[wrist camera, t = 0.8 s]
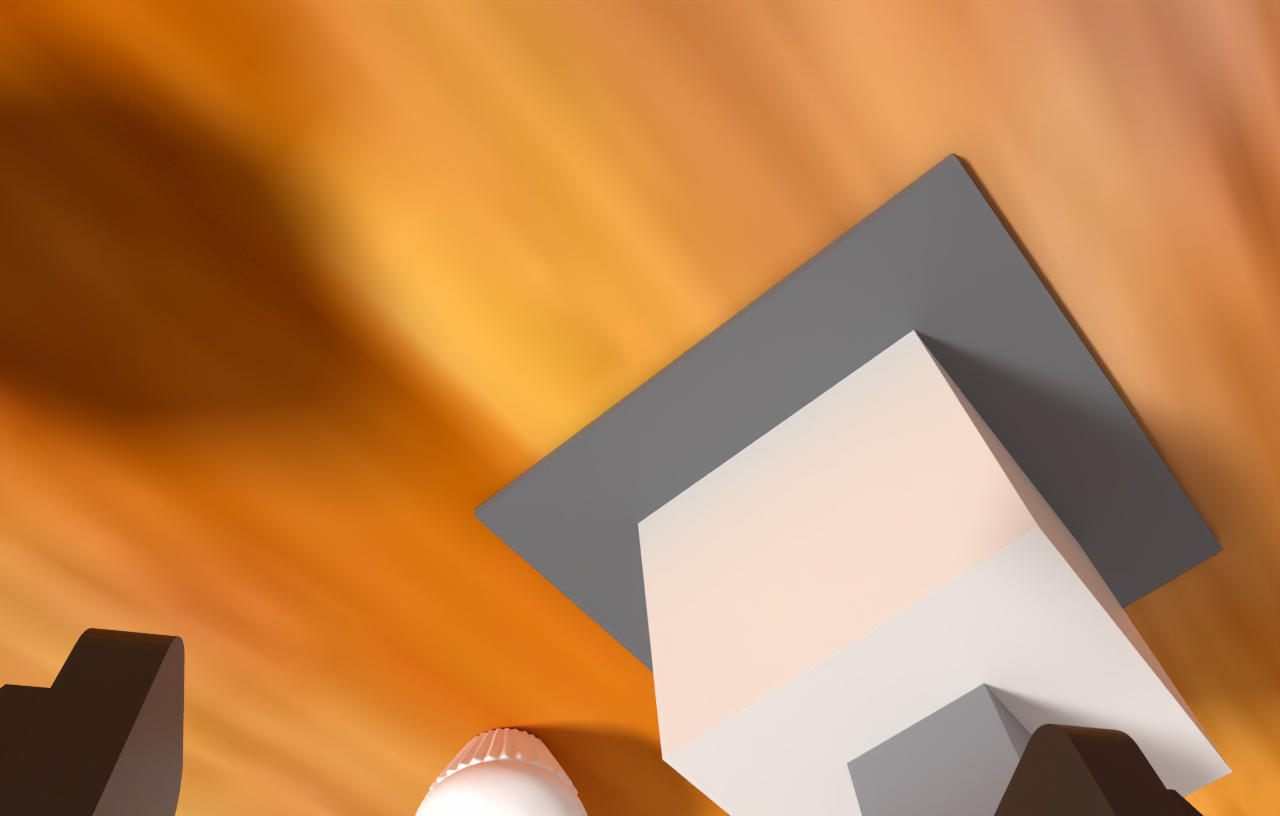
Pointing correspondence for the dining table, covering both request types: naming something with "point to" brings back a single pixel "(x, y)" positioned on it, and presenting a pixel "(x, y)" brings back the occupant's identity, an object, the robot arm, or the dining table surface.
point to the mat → (822, 357)
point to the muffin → (503, 780)
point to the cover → (887, 615)
